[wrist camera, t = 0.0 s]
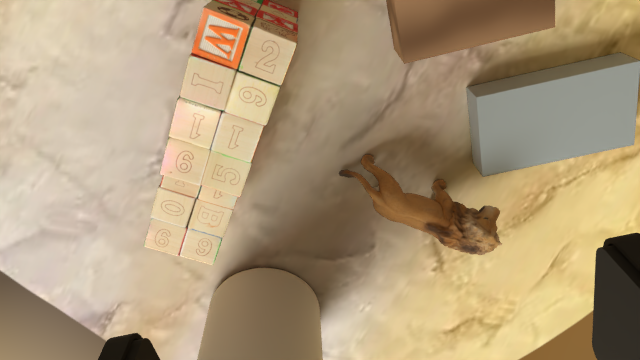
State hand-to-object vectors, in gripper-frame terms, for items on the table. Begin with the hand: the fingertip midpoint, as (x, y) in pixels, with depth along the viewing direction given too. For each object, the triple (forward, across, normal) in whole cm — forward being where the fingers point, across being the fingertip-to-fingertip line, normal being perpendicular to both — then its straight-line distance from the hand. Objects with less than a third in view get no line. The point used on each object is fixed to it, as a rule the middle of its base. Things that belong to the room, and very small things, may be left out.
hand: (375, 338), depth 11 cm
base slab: (+37, -19, +13) cm, 43 cm away
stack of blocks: (+37, +10, +6) cm, 39 cm away
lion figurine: (+37, -6, +18) cm, 42 cm away
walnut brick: (+37, -12, +1) cm, 39 cm away
